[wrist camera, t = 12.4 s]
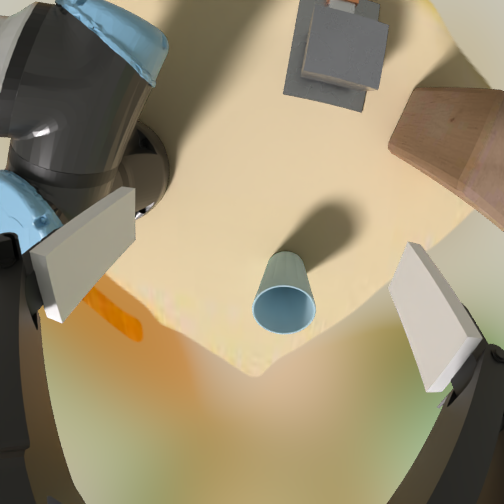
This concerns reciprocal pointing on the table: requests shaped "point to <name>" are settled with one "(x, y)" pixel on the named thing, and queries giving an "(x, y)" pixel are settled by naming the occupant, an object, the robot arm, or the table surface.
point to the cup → (284, 296)
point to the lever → (295, 85)
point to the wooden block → (457, 143)
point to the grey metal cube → (344, 49)
